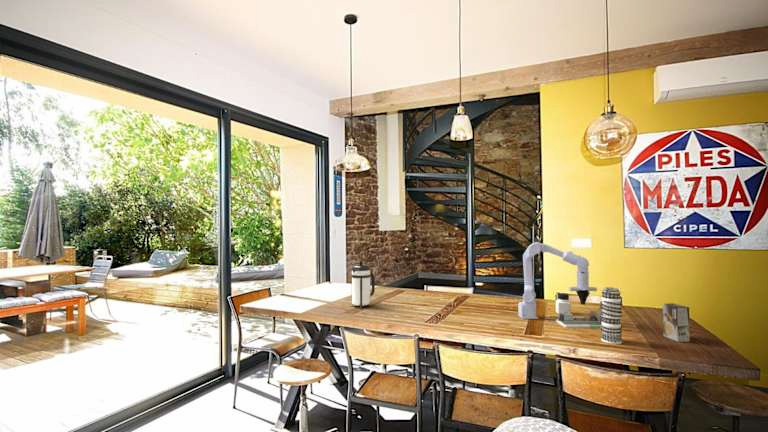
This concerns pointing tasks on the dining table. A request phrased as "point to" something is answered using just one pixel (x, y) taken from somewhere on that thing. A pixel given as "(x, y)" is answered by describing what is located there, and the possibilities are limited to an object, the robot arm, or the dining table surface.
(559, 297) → the medicine bottle
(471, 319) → the dining table surface
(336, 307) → the dining table surface
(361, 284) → the coffee press
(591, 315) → the marker
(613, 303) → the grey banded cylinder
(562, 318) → the plunger
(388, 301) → the dining table surface
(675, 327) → the coffee box
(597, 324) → the scale board
